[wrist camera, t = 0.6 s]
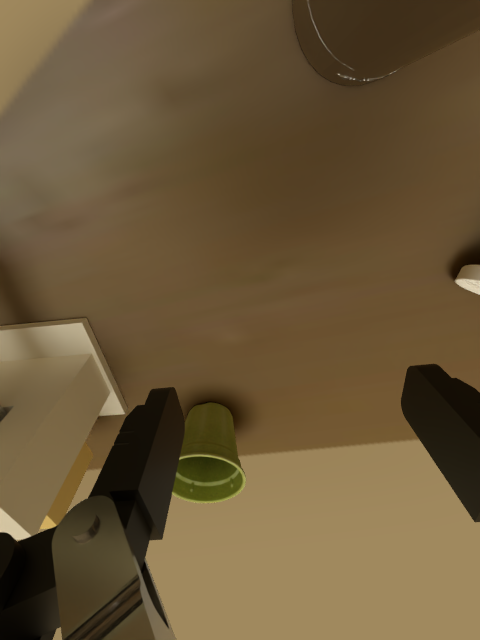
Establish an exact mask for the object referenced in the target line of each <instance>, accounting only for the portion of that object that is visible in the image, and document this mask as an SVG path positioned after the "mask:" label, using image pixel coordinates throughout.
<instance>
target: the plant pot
mask: <svg viewBox="0 0 480 640" xmlns="http://www.w3.org/2000/svg"><path fill="white" fill-rule="evenodd" d="M245 483H246V477H245V473H244V471H243V469H242V468H241V464H240V460H239V458H238V453H237V446H236V439H235V431H234V423H233V417H232V415H231V413H230V411H229V410H228V409H227V408H226V407H225V406H223V405H220V404H217V403H211V402H209V403H206V404H203V405H196V406H194V407H193V408H192V409H191V410H190V411H189V413H188V416H187V418H186V421H185V434H184V439H183V444H182V449H181V453H180V458H179V463H178V467H177V472H176V477H175V482H174V486H173V491H172V495H174V496H176V497H178V498H180V499H183V500H187V501H190V502H195V503H215V502H221V501H224V500H228V499H230V498H233V497H234V496H236V495H237V494H239V493H240V492H241V491H242V490H243V488H244V486H245Z"/></svg>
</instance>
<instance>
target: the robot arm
mask: <svg viewBox="0 0 480 640" xmlns="http://www.w3.org/2000/svg"><path fill="white" fill-rule="evenodd" d="M293 18H294V24H295V31H296V34H297V37H298V40H299V43H300V46H301V49H302V51H303V53H304V54H305V56H306V58H307V60H308V61H309V63H310V64H311V65H312V66H313V68H314V69H315V70H316V71H317V72H318V73H319V74H320V75H322V76H323V77H325V78H326V79H328V80H329V81H331V82H334V83H337V84H341V85H344V86H359V85H363V84H366V83H370V82H373V81H375V80H377V79H381V78H383V77H385V76H388V75H390V74H392V73H394V72H396V71H397V70H399V69H401V68H402V67H404V66H407V65H409V64H411V63H413V62H415V61H417V60H419V59H421V58H423V57H425V56H427V55H429V54H431V53H433V52H435V51H437V50H440V49H442V48H444V47H446V46H448V45H450V44H452V43H454V42H456V41H458V40H460V39H462V38H464V37H466V36H468V35H470V34H472V33H474V32H476V31H478V30H480V0H293ZM401 407H402V411H403V414H404V416H405V418H406V420H407V421H408V423H409V424H410V426H411V427H412V429H413V430H414V432H415V433H416V435H417V436H418V438H419V439H420V441H421V442H422V444H423V445H424V447H425V448H426V450H427V451H428V453H429V454H430V456H431V457H432V459H433V460H434V462H435V463H436V465H437V466H438V468H439V469H440V471H441V472H442V474H443V475H444V477H445V478H446V480H447V481H448V482H449V484H450V485H451V487H452V489H453V490H454V492H455V493H456V495H457V496H458V498H459V499H460V500H461V502H462V504H463V505H464V507H465V508H466V510H467V511H468V513H469V514H470V516H471V517H472V519H473V520H474V522H480V393H479V392H478V391H477V390H476V389H475V388H473V387H472V386H470V385H468V384H466V383H464V382H463V381H461V380H459V379H457V378H451V377H450V376H449V375H448V374H447V373H446V372H445V371H444V370H443V369H442V368H441V367H440V366H438V365H437V364H427V365H416V366H410V367H409V368H408V369H407V373H406V378H405V383H404V388H403V393H402V398H401ZM119 432H120V433H119V434H118V436H117V438H116V440H115V442H114V446H112V449H111V451H110V453H109V455H108V457H107V459H106V461H105V464H104V466H103V468H102V470H101V472H100V474H99V476H98V479H97V481H96V483H95V485H94V487H93V489H92V492H91V493H90V495H89V497H88V499H85V500H83V501H81V502H80V503H78V504H77V505H75V506H74V507H73V508H72V509H71V510H70V511H69V512H68V513H67V514H66V515H65V516H64V517H63V519H62V520H61V521H60V523H59V525H57V526H55V527H53V528H50V529H48V530H45V531H43V532H40V533H38V534H35V535H33V536H30V537H28V538H25V539H23V540H21V541H18V542H17V541H16V540H15V539H14V538H13V537H12V536H11V535H10V534H8V533H5V532H0V640H52V639H53V637H54V634H55V631H56V629H57V628H59V627H61V633H62V640H176V637H175V635H174V633H173V630H172V628H171V625H170V623H169V620H168V617H167V614H166V612H165V609H164V606H163V604H162V601H161V598H160V596H159V593H158V590H157V588H156V585H155V582H154V580H153V577H152V574H151V572H150V569H149V566H148V564H147V561H146V559H145V556H146V551H147V547H148V544H149V540H161V539H162V538H163V533H164V528H165V524H166V519H167V514H168V510H169V505H170V500H171V495H172V491H173V486H174V482H175V477H176V472H177V467H178V463H179V458H180V453H181V449H182V444H183V439H184V434H185V422H184V417H183V413H182V410H181V406H180V403H179V400H178V396H177V393H176V390H175V388H174V387H169V388H158V389H152V390H151V391H150V393H149V395H148V398H147V400H146V402H145V405H138V406H136V407H135V408H134V409H133V411H132V412H131V413H130V414H129V415H128V416H127V417H126V418H125V421H124V423H123V425H122V427H121V429H120V431H119Z"/></svg>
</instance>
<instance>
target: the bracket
mask: <svg viewBox="0 0 480 640" xmlns="http://www.w3.org/2000/svg"><path fill="white" fill-rule="evenodd" d="M0 405H1V406H2V408H3V409H4V410H5V411H6V413H7V415H6V416H5V417H4V419H3V420H2V421H1V422H0V532H5V533H8V534H10V535H11V536H12V537H13V538H14V539H15V540H18V539H25V538H28V537H30V536H33V535H35V534H37V533H38V531H39V529H40V527H41V525H42V523H43V521H44V519H45V517H46V515H47V513H48V511H49V510H50V508H51V506H52V504H53V502H54V500H55V498H56V496H57V494H58V492H59V490H60V488H61V486H62V485H63V483H64V481H65V479H66V477H67V475H68V473H69V471H70V469H71V467H72V465H73V463H74V462H75V460H76V458H77V456H78V454H79V452H80V450H81V448H82V446H83V444H84V442H85V440H86V439H87V437H88V435H89V433H90V431H91V429H92V427H93V425H94V423H95V421H96V419H97V417H98V416H106V415H119V414H125V413H126V411H127V405H126V403H125V401H124V399H123V397H122V394H121V392H120V390H119V388H118V386H117V384H116V381H115V379H114V377H113V375H112V373H111V370H110V368H109V366H108V364H107V362H106V360H105V357H104V355H103V353H102V351H101V349H100V346H99V344H98V342H97V340H96V338H95V336H94V333H93V331H92V329H91V327H90V325H89V322H88V320H87V318H78V319H67V320H57V321H47V322H36V323H26V324H15V325H5V326H0Z"/></svg>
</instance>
